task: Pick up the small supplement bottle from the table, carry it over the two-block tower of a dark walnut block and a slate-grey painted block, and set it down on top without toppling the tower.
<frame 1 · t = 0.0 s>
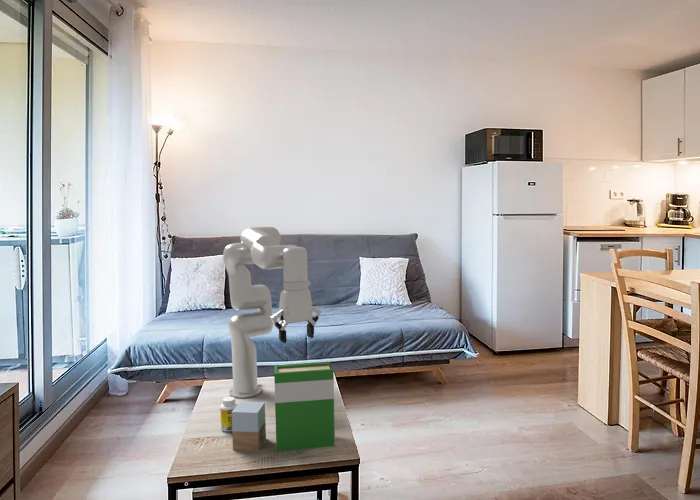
hand: (297, 339, 154), 31 cm above the table, tool pointing down, fingers open, 9 cm apart
hardback book: (305, 443, 151), on the table
supplement bottle: (229, 429, 161), on the table
walnut block: (249, 444, 150), on the table, touching slate block
slate block: (249, 425, 150), point 6 cm above the table, touching walnut block
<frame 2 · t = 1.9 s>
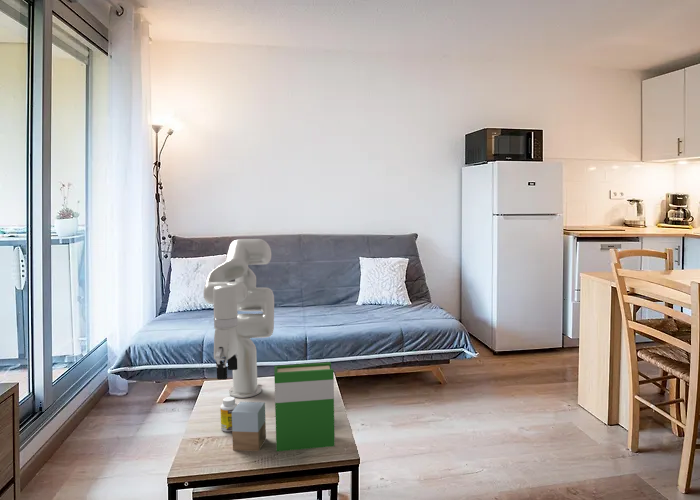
hand: (227, 374, 159), 19 cm above the table, tool pointing down, fingers open, 9 cm apart
nothing on the table moved.
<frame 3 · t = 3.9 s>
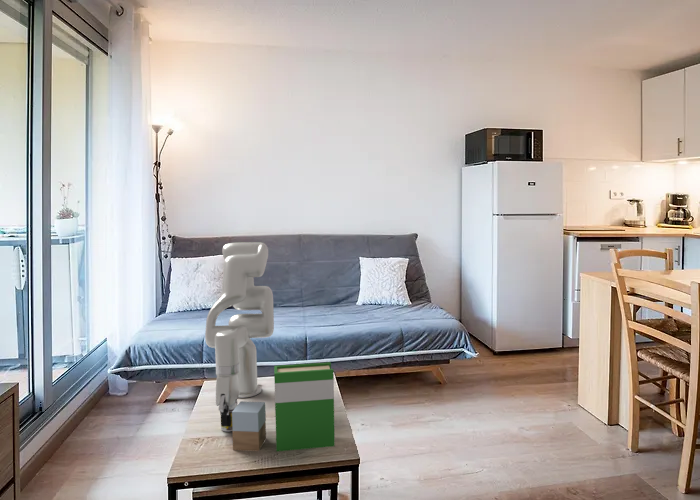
hand: (229, 421, 161), 3 cm above the table, tool pointing down, fingers closed on supplement bottle, 5 cm apart
supplement bottle: (229, 429, 161), on the table, touching gripper
everything else where it was.
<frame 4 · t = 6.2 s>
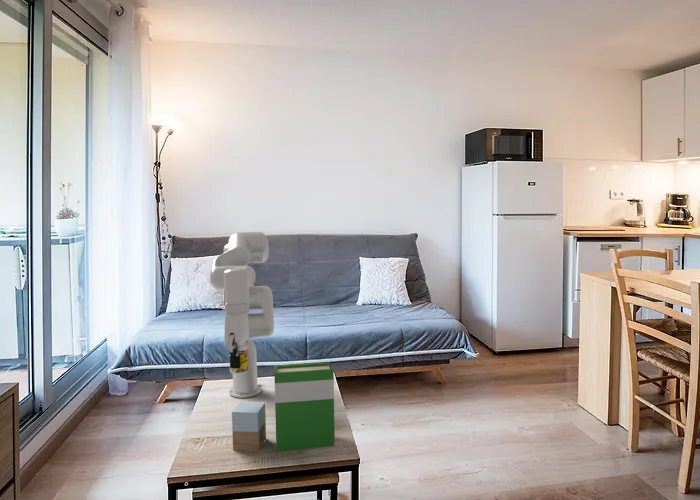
hand: (238, 364, 152), 24 cm above the table, tool pointing down, fingers closed on supplement bottle, 5 cm apart
supplement bottle: (239, 372, 153), point 21 cm above the table, touching gripper
everything else where it was.
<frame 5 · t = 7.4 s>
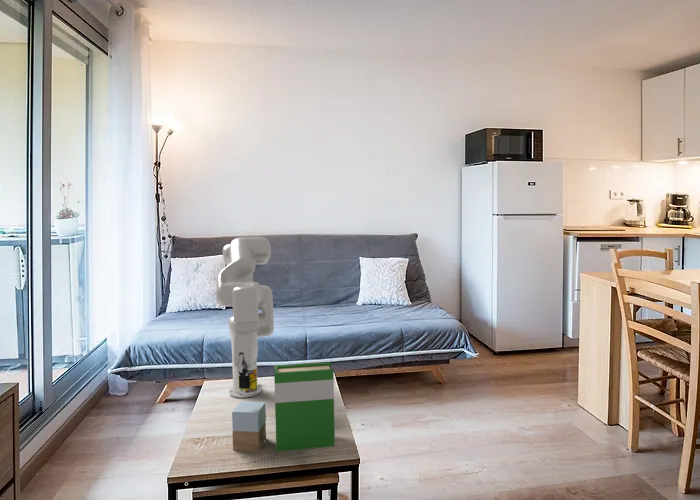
hand: (247, 383, 149), 19 cm above the table, tool pointing down, fingers closed on supplement bottle, 5 cm apart
supplement bottle: (248, 392, 149), point 17 cm above the table, touching gripper
everything else where it was.
when the fingers open (16 cm above the table, at t = 8.4 s): supplement bottle drops 1 cm, resting on slate block.
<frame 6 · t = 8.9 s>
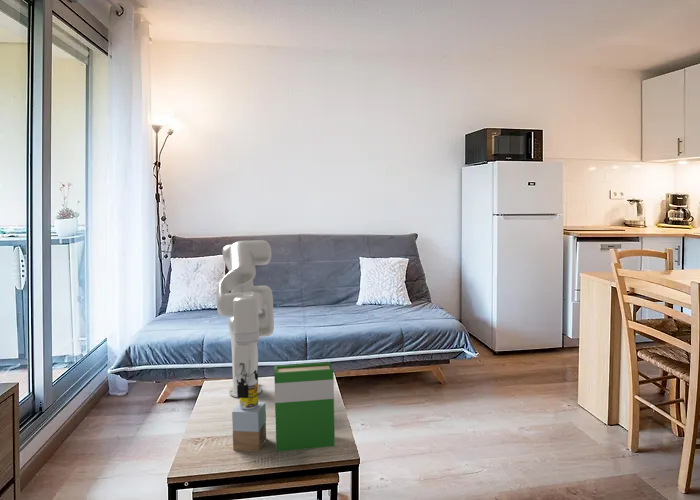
hand: (248, 391, 149), 17 cm above the table, tool pointing down, fingers open, 9 cm apart
supplement bottle: (248, 407, 150), point 12 cm above the table, touching slate block
slate block: (249, 425, 150), point 6 cm above the table, touching supplement bottle, walnut block
everything else where it was.
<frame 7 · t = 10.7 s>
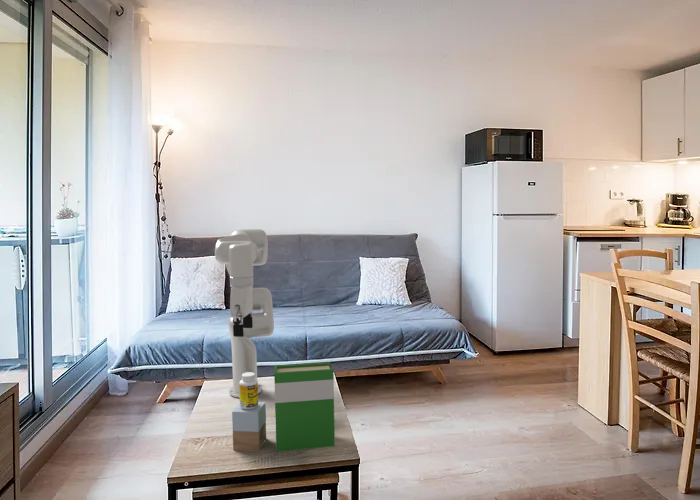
hand: (243, 332, 161), 32 cm above the table, tool pointing down, fingers open, 9 cm apart
nothing on the table moved.
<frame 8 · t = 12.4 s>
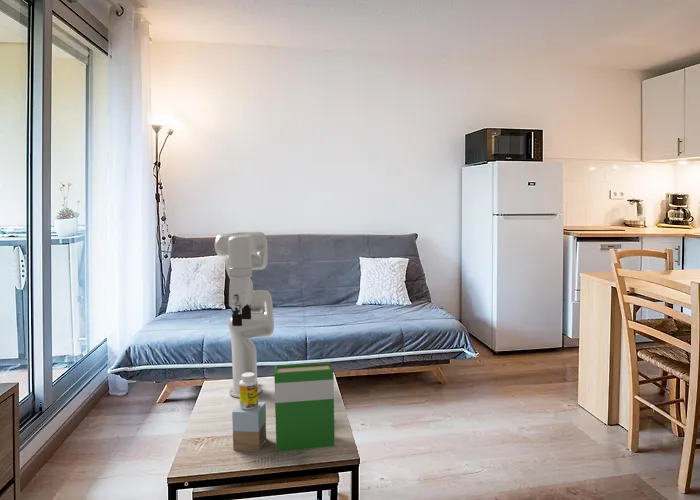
hand: (242, 322, 165), 34 cm above the table, tool pointing down, fingers open, 9 cm apart
nothing on the table moved.
at the end: supplement bottle inside the target area on the slate block (0.2 cm from its centre), point 5.8 cm above the slate block's base; slate block 0.1 cm off-centre on the walnut block, point 6.0 cm above the walnut block's base; supplement bottle touching slate block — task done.
